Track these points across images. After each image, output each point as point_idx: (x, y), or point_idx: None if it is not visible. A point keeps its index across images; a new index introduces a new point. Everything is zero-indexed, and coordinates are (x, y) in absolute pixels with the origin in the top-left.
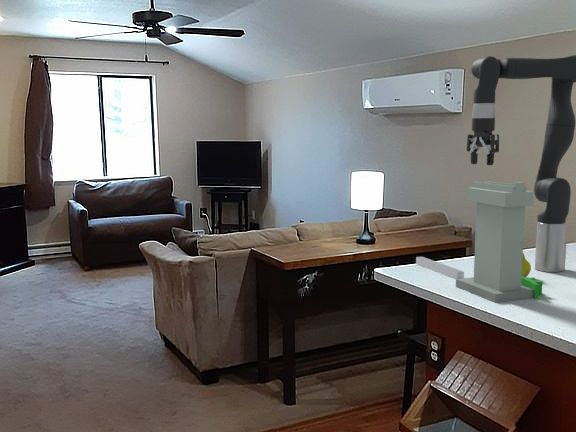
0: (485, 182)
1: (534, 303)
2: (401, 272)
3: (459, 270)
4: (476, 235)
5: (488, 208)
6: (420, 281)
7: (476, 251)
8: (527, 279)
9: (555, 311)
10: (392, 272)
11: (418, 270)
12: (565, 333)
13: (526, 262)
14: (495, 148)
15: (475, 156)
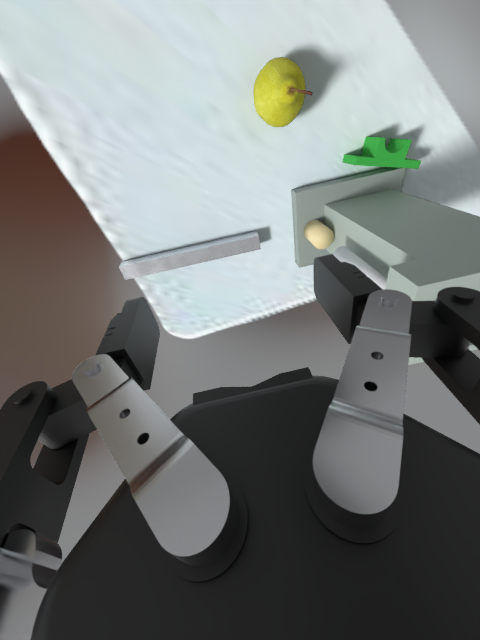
0: None
1: (418, 183)
2: (195, 311)
3: (247, 239)
4: None
5: None
6: (254, 300)
7: None
8: (385, 162)
9: (460, 174)
10: (193, 322)
11: (183, 283)
12: None
13: (302, 84)
14: (453, 327)
15: (139, 346)
